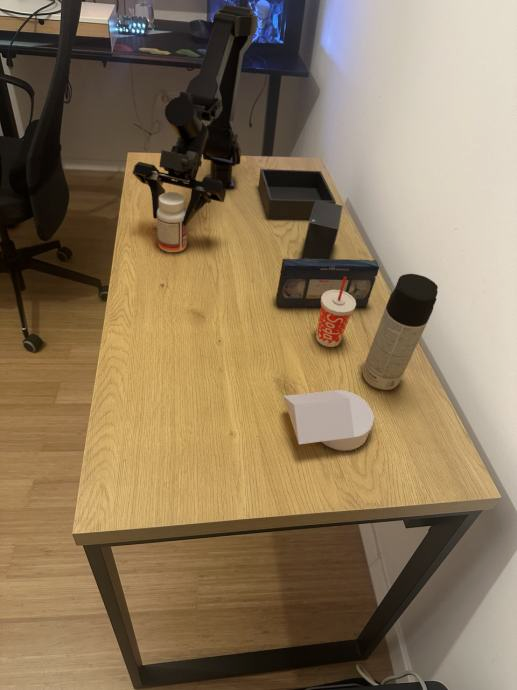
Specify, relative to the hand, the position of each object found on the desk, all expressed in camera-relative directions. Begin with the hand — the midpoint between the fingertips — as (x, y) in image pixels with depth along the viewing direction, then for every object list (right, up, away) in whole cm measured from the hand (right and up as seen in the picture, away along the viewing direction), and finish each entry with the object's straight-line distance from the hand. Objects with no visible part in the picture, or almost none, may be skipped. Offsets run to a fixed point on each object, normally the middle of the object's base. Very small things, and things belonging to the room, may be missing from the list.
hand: (169, 221), depth 103 cm
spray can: (+40, -31, -16) cm, 53 cm away
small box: (+32, -5, +9) cm, 33 cm away
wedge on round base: (+29, -38, -25) cm, 55 cm away
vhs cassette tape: (+31, -17, -3) cm, 36 cm away
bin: (+28, +11, +25) cm, 39 cm away
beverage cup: (+31, -24, -11) cm, 41 cm away
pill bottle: (0, -4, +6) cm, 7 cm away
